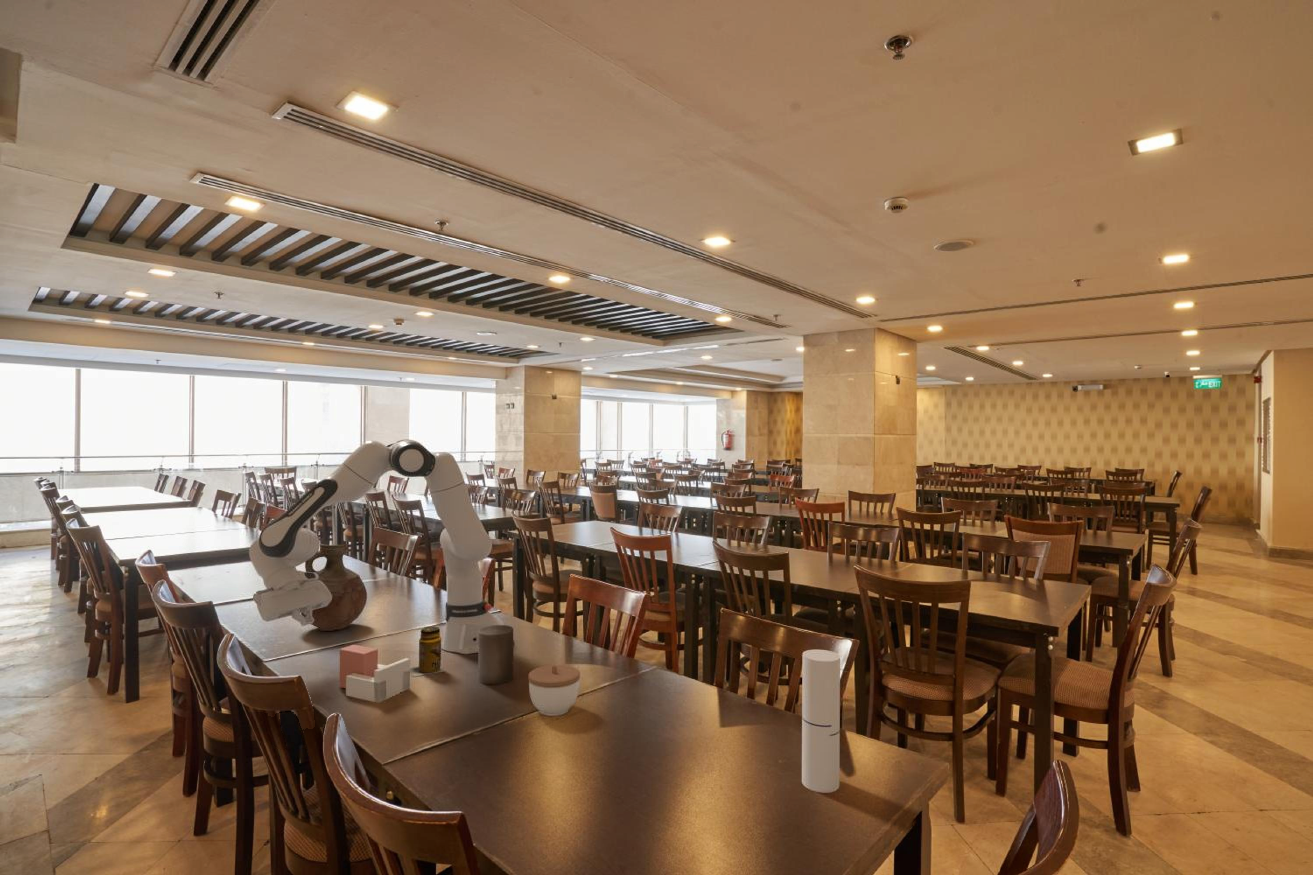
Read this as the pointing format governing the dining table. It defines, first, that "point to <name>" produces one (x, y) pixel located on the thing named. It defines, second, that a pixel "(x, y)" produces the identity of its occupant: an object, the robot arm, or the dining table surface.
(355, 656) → the plug
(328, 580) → the jug
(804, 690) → the cylindrical container
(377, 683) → the dock
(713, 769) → the dining table surface
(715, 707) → the dining table surface
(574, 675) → the white lidded jar
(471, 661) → the dining table surface
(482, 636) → the pillar candle
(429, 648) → the condiment
